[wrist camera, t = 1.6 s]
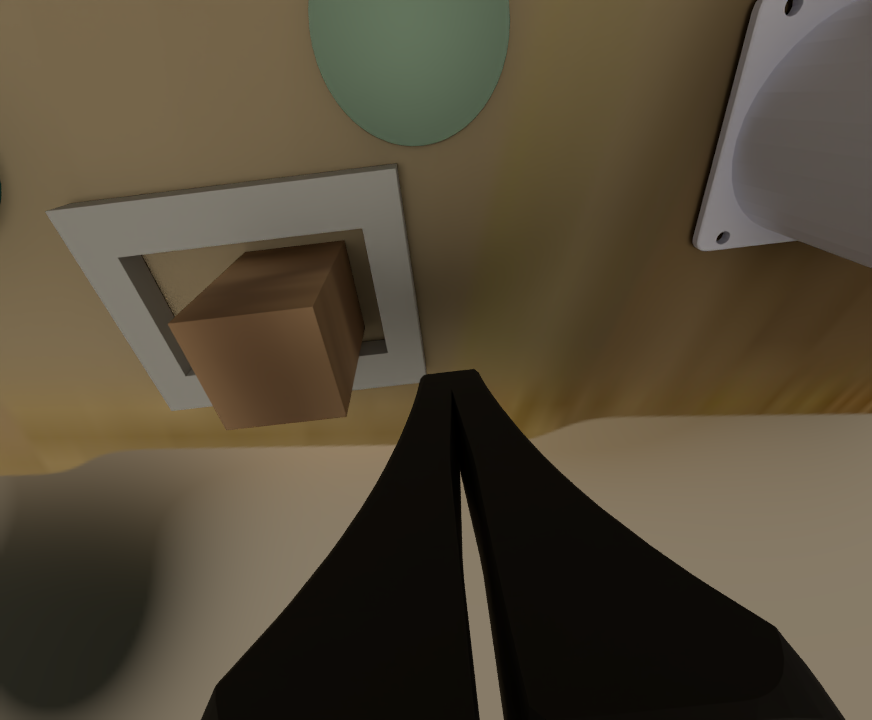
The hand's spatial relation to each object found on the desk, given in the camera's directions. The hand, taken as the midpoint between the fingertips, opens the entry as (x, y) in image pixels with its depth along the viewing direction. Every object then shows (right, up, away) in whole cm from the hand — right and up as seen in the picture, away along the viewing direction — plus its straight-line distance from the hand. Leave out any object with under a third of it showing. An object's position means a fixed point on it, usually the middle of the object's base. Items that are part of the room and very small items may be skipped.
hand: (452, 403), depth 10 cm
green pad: (-1, +11, +2) cm, 11 cm away
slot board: (-7, +4, +7) cm, 11 cm away
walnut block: (-6, +4, +7) cm, 10 cm away
